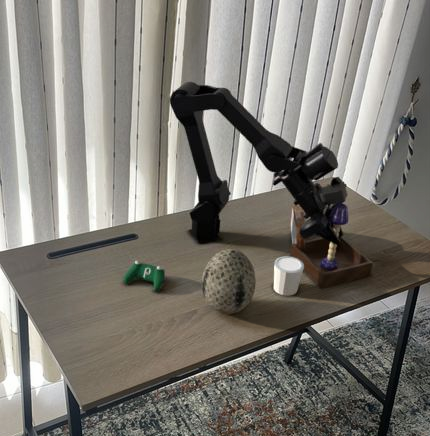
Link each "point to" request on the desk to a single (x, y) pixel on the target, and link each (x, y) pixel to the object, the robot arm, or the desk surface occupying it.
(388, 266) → the desk surface
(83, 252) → the desk surface
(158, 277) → the gaming controller
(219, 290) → the decorative egg
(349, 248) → the wooden tray
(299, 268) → the white short cylinder
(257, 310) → the desk surface
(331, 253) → the toy lamp
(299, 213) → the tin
